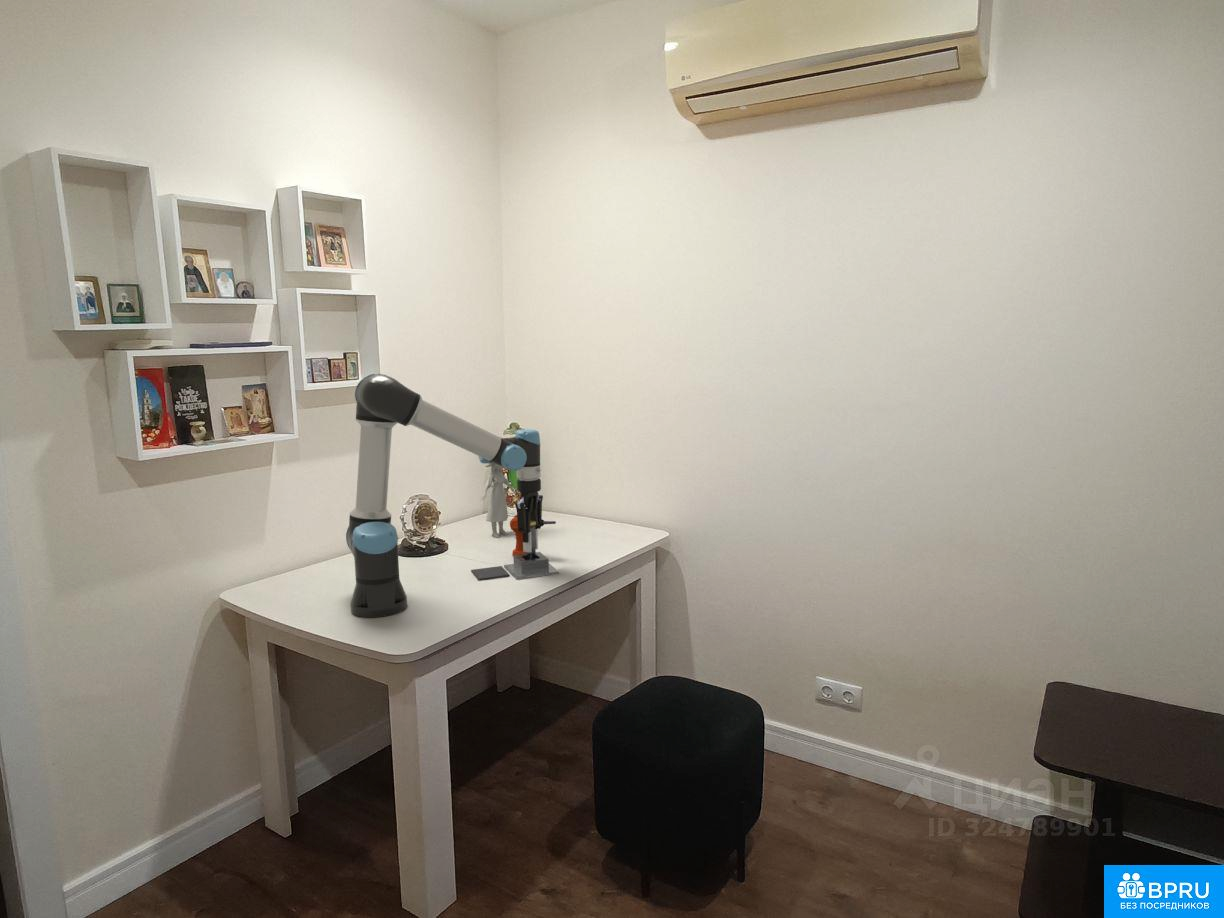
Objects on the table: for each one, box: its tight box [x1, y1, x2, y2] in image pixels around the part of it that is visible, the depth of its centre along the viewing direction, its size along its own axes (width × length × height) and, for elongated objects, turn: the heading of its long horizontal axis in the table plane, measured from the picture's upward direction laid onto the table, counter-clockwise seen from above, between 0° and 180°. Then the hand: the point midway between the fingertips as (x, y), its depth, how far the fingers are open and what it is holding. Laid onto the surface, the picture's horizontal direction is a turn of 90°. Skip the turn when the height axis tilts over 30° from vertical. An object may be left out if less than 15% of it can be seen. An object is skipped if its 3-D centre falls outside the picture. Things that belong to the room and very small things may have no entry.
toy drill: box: [509, 514, 557, 557], centre depth 258 cm, size 5×19×15 cm, turn 63°
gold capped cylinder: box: [526, 520, 537, 560], centre depth 244 cm, size 4×4×14 cm
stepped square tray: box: [503, 551, 560, 580], centre depth 246 cm, size 14×14×4 cm
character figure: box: [481, 463, 516, 538], centre depth 287 cm, size 17×8×30 cm, turn 142°
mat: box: [470, 565, 511, 581], centre depth 243 cm, size 10×10×1 cm
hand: (530, 550), depth 245 cm, fingers closed on gold capped cylinder, 3 cm apart
